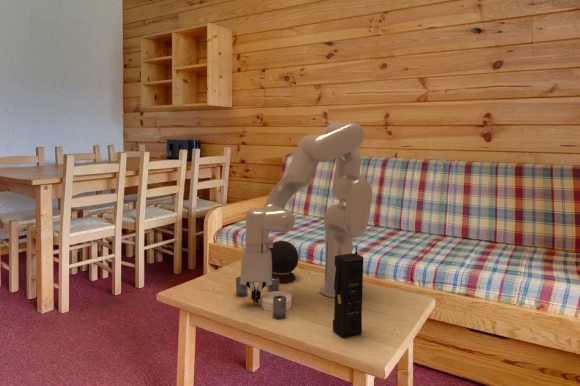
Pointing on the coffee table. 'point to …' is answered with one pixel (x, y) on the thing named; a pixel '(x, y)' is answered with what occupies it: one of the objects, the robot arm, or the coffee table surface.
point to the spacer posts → (278, 301)
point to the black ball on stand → (284, 261)
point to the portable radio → (348, 294)
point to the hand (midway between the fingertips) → (255, 301)
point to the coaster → (268, 300)
